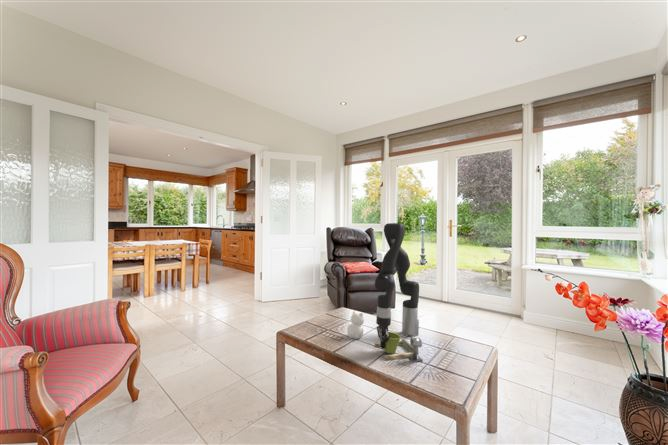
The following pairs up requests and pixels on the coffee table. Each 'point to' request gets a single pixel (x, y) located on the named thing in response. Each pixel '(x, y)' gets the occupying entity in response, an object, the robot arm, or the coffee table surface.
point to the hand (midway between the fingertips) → (382, 347)
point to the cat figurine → (356, 325)
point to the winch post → (415, 348)
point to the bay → (399, 356)
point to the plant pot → (392, 343)
